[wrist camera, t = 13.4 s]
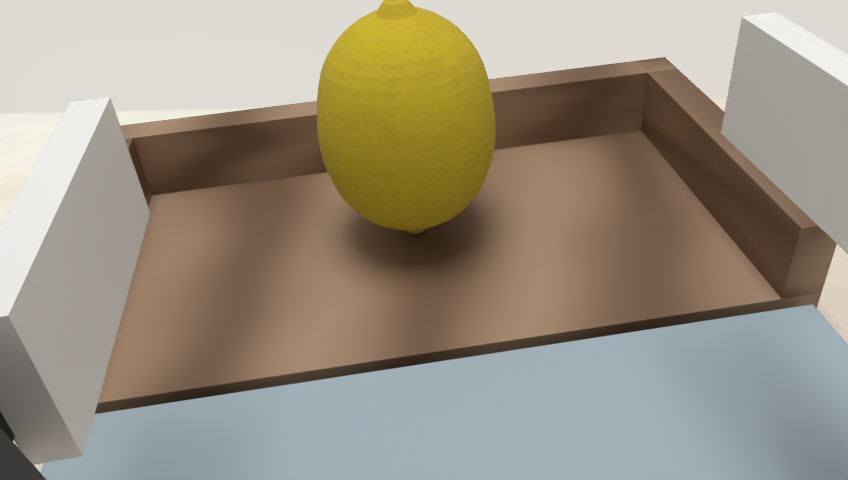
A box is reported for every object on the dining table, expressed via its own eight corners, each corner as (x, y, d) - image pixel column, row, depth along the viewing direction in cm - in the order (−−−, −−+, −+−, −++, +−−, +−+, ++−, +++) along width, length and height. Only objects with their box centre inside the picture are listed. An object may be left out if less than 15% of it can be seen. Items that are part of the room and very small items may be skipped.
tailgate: (72, 444, 20) (0, 674, 15) (58, 419, 20) (-20, 650, 15) (804, 330, 22) (950, 506, 17) (812, 304, 21) (966, 479, 16)
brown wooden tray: (63, 447, 21) (6, 343, 18) (137, 214, 30) (106, 127, 28) (809, 331, 22) (843, 221, 20) (653, 145, 32) (664, 57, 30)
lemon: (469, 177, 28) (461, -40, 23) (519, 261, 24) (521, 15, 19) (325, 204, 27) (287, -16, 23) (349, 297, 23) (308, 47, 18)
